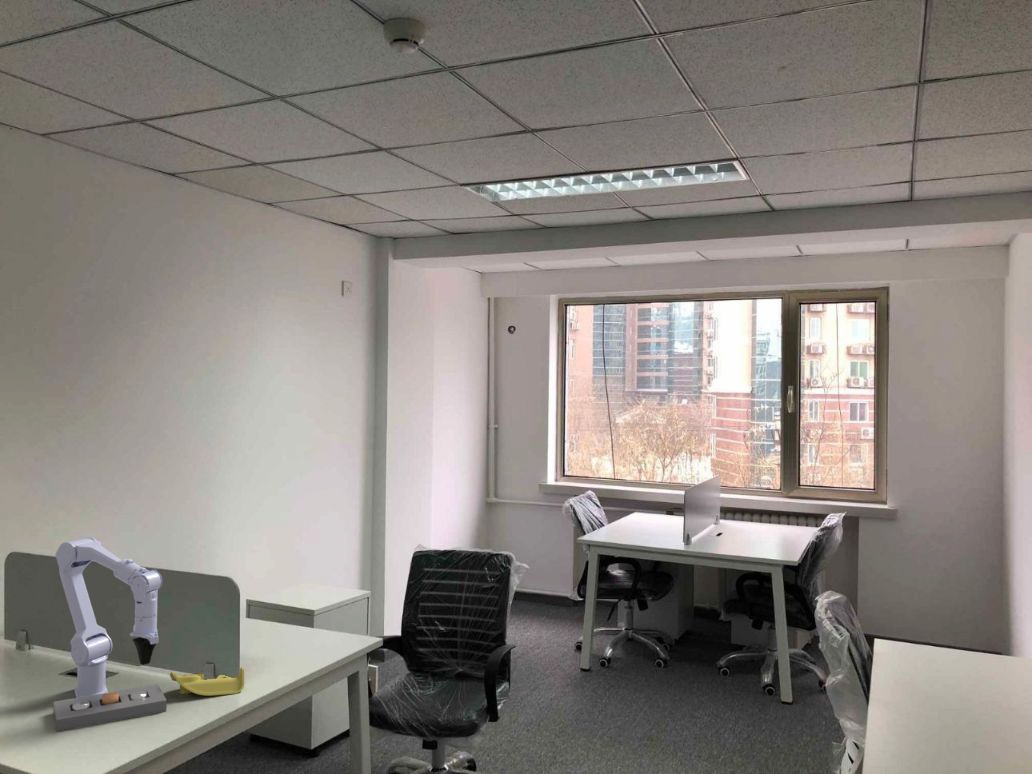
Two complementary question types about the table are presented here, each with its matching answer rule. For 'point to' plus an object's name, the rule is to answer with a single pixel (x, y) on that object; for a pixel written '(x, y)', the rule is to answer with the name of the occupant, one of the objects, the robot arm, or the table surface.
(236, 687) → the plastic component
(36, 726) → the table surface
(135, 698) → the plunger
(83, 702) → the plunger
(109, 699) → the orange plunger
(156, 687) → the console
